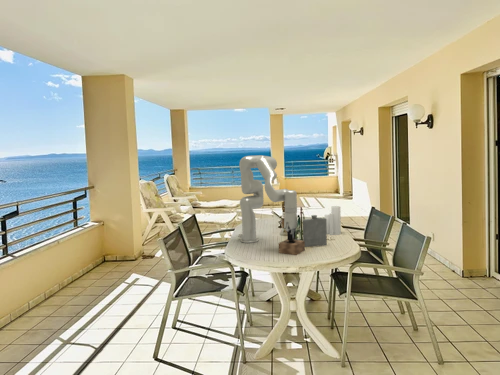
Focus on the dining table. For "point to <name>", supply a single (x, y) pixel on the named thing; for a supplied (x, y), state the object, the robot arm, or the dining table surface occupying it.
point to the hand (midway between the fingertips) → (291, 239)
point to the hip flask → (315, 231)
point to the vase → (334, 221)
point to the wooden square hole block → (291, 247)
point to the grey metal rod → (293, 236)
